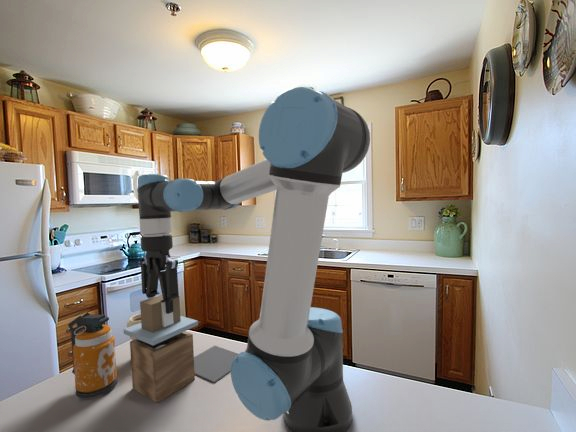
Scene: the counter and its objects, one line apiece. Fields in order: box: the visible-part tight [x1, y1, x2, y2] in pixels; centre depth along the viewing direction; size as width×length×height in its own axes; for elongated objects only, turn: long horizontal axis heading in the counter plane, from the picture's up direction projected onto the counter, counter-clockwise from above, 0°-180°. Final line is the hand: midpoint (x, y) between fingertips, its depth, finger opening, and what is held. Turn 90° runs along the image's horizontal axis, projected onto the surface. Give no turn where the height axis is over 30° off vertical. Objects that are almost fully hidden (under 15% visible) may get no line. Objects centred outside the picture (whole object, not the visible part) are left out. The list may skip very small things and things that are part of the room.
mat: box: [194, 345, 239, 384], centre depth 87 cm, size 15×14×1 cm
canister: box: [67, 312, 118, 400], centre depth 76 cm, size 9×11×20 cm
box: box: [129, 331, 196, 404], centre depth 78 cm, size 11×11×12 cm
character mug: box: [126, 312, 141, 341], centre depth 92 cm, size 11×7×13 cm, turn 77°
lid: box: [123, 294, 199, 345], centre depth 77 cm, size 13×13×9 cm
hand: (161, 322), depth 77 cm, fingers closed on lid, 5 cm apart
